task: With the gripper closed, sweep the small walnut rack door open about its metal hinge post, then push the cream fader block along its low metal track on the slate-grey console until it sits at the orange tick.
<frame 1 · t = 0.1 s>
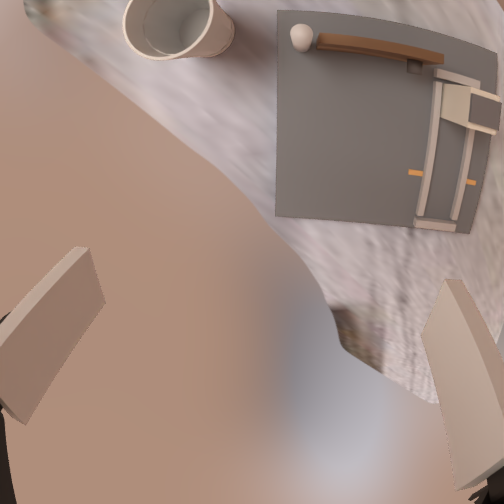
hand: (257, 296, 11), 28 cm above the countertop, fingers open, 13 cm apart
fader knob: (469, 107, 23), point 6 cm above the countertop, slide at 0.0 cm
rack door: (377, 55, 24), point 5 cm above the countertop, hinge at 0.0°
cup: (207, 32, 29), on the countertop
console: (391, 123, 31), on the countertop
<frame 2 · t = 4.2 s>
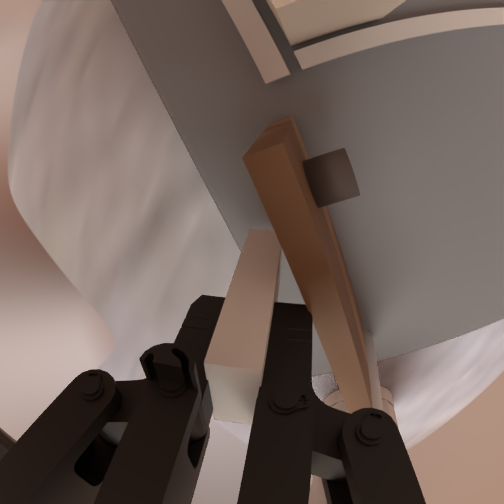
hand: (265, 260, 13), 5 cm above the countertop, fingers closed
rack door: (347, 270, 12), point 5 cm above the countertop, hinge at 1.6°, touching gripper
cup: (357, 402, 24), on the countertop
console: (443, 116, 12), on the countertop
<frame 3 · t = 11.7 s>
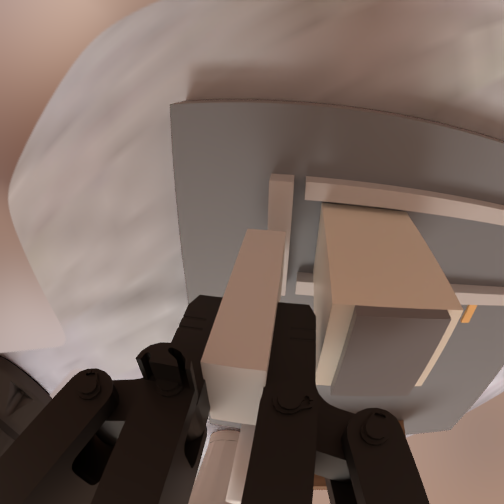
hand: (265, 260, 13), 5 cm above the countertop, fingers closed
fader knob: (371, 289, 11), point 6 cm above the countertop, slide at 0.8 cm, touching gripper
rack door: (337, 458, 21), point 5 cm above the countertop, hinge at 87.9°
cup: (237, 440, 32), on the countertop
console: (379, 322, 19), on the countertop
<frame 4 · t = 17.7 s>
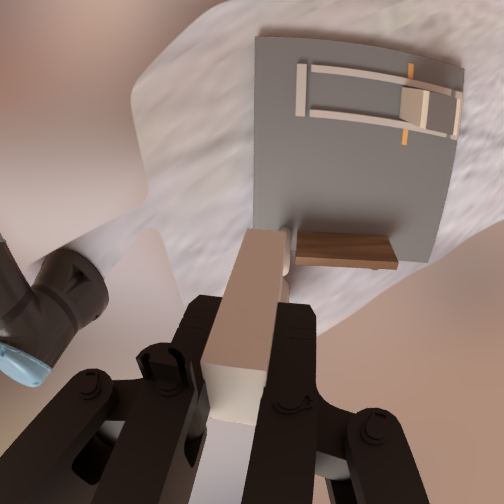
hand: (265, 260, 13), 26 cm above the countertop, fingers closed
fader knob: (428, 109, 25), point 6 cm above the countertop, slide at 10.0 cm
rack door: (344, 254, 36), point 5 cm above the countertop, hinge at 87.9°
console: (357, 152, 35), on the countertop
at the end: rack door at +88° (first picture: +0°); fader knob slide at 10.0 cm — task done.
